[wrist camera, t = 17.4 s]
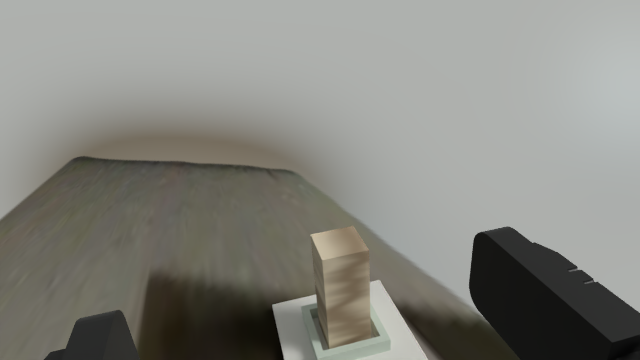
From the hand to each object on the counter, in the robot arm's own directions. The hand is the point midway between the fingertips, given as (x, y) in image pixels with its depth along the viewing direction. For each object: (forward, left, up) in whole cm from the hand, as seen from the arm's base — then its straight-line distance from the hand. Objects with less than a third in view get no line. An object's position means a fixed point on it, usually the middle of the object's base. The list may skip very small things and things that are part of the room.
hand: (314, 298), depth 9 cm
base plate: (-14, +24, -30) cm, 41 cm away
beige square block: (-14, +24, -29) cm, 40 cm away
